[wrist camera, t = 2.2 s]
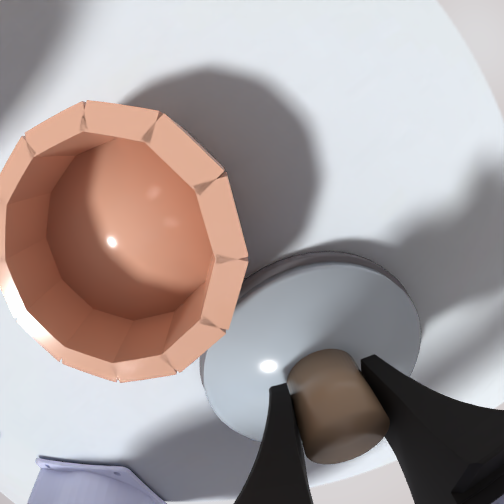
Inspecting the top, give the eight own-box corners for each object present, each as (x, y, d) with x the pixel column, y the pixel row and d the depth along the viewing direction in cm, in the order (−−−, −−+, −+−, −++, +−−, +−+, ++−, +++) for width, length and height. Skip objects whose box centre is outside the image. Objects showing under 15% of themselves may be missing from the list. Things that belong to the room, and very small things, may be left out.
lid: (239, 449, 14) (245, 514, 9) (169, 299, 11) (144, 374, 7) (406, 397, 14) (441, 449, 10) (411, 233, 11) (484, 270, 7)
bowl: (86, 339, 12) (55, 388, 8) (22, 166, 9) (-34, 174, 6) (261, 299, 12) (274, 352, 8) (205, 91, 9) (196, 58, 6)
